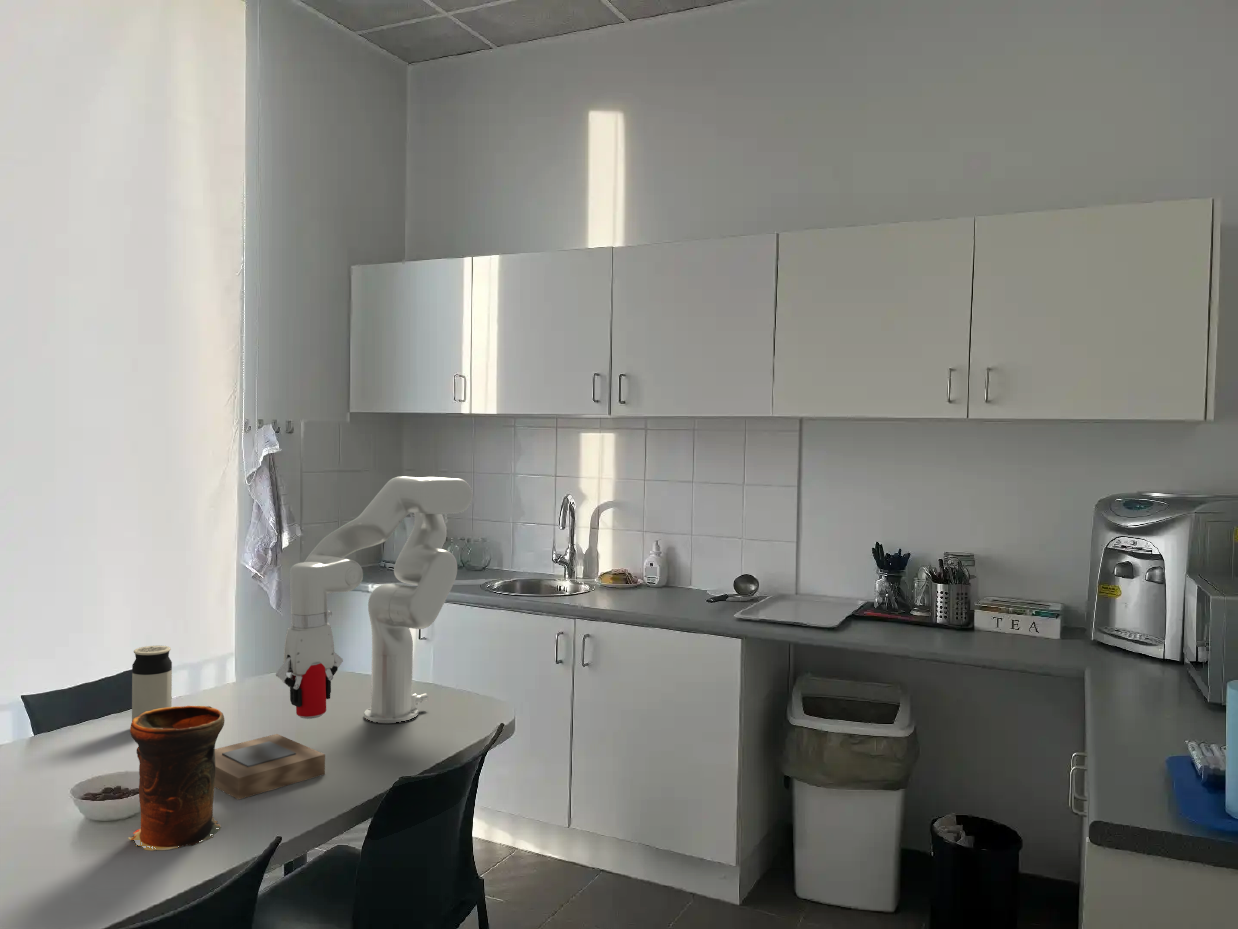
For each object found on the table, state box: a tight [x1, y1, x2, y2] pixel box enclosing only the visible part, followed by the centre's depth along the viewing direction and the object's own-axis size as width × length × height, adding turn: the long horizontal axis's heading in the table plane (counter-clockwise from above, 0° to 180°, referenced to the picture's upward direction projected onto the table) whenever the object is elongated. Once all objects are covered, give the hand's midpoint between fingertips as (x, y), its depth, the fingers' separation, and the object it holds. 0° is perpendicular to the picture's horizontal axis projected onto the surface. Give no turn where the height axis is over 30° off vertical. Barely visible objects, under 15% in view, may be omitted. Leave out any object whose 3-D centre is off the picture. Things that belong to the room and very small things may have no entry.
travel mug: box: [131, 645, 173, 722], centre depth 213 cm, size 8×8×18 cm
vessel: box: [127, 705, 225, 852], centre depth 160 cm, size 14×14×20 cm
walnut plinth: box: [214, 733, 326, 801], centre depth 187 cm, size 18×18×4 cm
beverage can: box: [295, 662, 327, 720], centre depth 205 cm, size 6×6×12 cm
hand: (311, 701), depth 206 cm, fingers closed on beverage can, 6 cm apart
